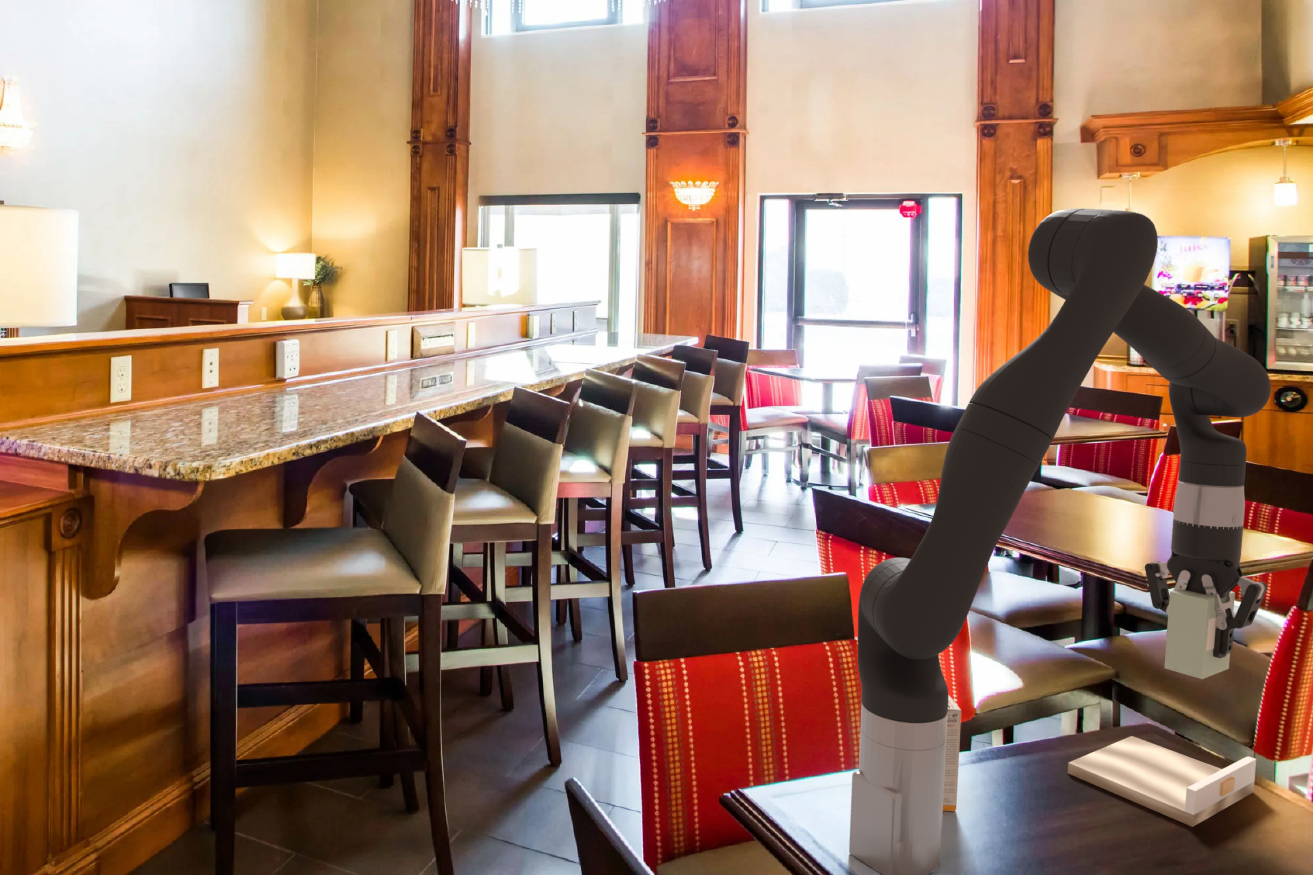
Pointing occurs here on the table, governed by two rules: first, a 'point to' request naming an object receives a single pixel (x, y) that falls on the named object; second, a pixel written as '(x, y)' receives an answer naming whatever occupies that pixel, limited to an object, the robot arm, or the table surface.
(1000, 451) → the robot arm
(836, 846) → the table surface
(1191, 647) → the carton
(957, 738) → the supplement box
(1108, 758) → the shelf board
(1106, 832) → the table surface
